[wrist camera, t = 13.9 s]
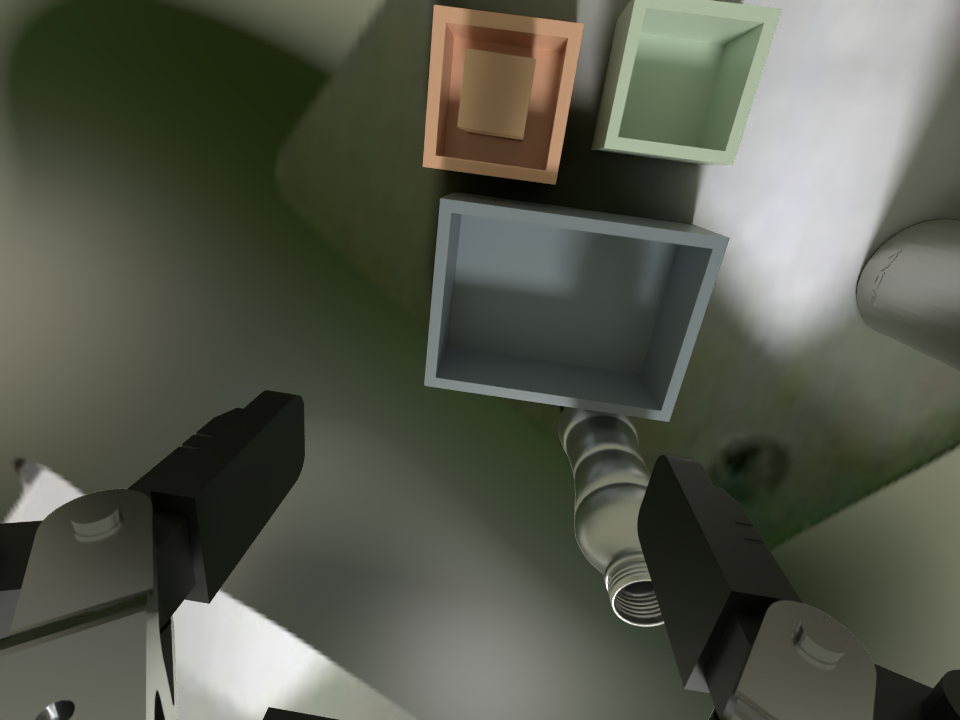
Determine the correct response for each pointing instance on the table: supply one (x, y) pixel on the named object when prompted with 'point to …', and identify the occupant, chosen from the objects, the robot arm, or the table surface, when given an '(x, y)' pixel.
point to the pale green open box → (683, 79)
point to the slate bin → (567, 304)
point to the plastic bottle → (611, 506)
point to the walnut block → (495, 94)
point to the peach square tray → (548, 99)
